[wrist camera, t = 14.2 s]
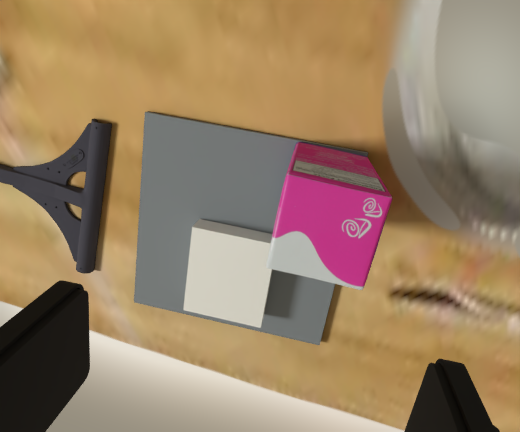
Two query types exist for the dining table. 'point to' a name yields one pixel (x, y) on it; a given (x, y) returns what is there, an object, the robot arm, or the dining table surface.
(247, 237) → the tile
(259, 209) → the mat
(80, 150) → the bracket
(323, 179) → the supplement box
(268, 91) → the dining table surface
